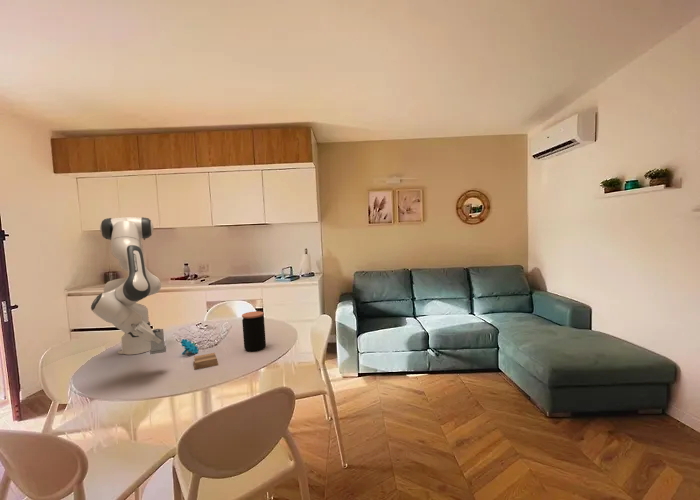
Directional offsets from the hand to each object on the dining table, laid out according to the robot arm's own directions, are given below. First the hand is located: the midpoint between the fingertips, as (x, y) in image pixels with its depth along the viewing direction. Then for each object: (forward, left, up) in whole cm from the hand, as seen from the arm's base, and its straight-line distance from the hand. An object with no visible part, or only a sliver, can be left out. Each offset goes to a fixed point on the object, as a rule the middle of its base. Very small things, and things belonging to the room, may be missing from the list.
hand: (159, 339), depth 156 cm
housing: (0, -1, -5) cm, 5 cm away
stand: (+1, +18, -14) cm, 23 cm away
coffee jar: (-7, +42, -15) cm, 45 cm away
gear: (-19, +12, -15) cm, 27 cm away
